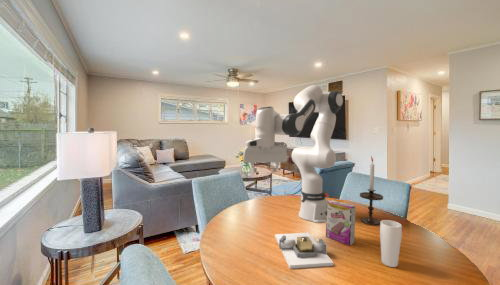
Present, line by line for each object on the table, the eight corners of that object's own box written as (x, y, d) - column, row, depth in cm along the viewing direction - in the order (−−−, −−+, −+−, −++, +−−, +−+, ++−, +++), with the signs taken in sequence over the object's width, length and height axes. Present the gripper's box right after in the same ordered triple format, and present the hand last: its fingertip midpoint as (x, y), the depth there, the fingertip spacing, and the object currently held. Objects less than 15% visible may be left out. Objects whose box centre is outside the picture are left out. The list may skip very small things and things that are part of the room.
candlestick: (354, 219, 125) (356, 155, 123) (370, 217, 129) (372, 154, 127) (370, 227, 115) (372, 157, 113) (387, 224, 118) (389, 156, 116)
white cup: (374, 258, 87) (376, 220, 86) (391, 257, 88) (393, 219, 87) (386, 269, 80) (388, 227, 80) (405, 268, 81) (406, 227, 80)
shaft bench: (308, 235, 106) (308, 224, 106) (333, 265, 83) (333, 252, 82) (272, 237, 105) (272, 226, 104) (287, 268, 81) (287, 255, 80)
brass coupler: (307, 248, 92) (307, 234, 92) (311, 254, 88) (312, 240, 87) (296, 249, 92) (296, 235, 91) (300, 255, 87) (300, 241, 87)
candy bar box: (325, 237, 104) (326, 201, 103) (330, 234, 108) (331, 199, 107) (350, 246, 96) (351, 208, 95) (355, 242, 100) (356, 205, 99)
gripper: (285, 141, 110) (285, 170, 111) (242, 141, 108) (242, 171, 108) (289, 142, 104) (288, 172, 104) (243, 142, 101) (243, 173, 102)
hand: (264, 172), depth 106 cm, fingers open, 8 cm apart
